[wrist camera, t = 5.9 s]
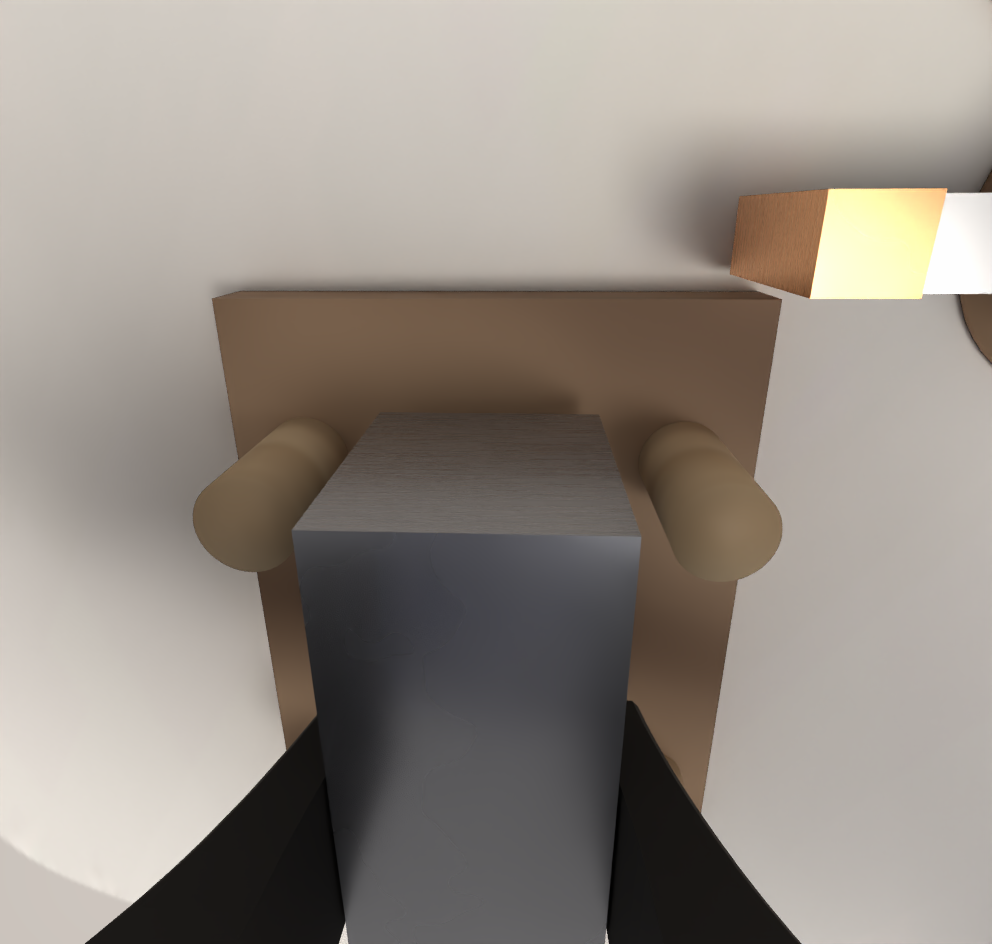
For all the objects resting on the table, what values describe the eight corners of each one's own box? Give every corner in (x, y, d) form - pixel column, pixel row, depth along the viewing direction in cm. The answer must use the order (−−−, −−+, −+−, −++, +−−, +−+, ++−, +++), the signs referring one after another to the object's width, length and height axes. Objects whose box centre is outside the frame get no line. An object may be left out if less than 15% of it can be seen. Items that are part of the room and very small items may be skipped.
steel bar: (574, 832, 15) (592, 1075, 11) (410, 825, 15) (365, 1061, 11) (599, 414, 11) (641, 536, 7) (380, 411, 11) (291, 529, 7)
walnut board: (681, 825, 17) (725, 1003, 13) (317, 811, 18) (258, 979, 14) (758, 291, 12) (868, 328, 8) (240, 291, 13) (110, 325, 9)
